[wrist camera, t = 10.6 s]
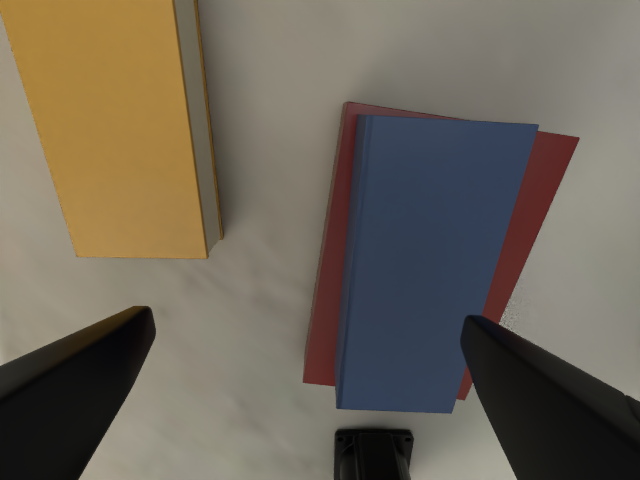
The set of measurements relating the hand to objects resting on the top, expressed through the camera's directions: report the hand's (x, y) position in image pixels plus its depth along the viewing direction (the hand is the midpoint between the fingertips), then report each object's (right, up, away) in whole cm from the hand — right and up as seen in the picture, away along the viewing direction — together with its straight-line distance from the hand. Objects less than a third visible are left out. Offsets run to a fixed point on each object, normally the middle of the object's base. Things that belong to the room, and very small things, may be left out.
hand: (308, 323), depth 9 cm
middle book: (+5, +1, +8) cm, 9 cm away
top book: (-9, +9, +8) cm, 15 cm away
